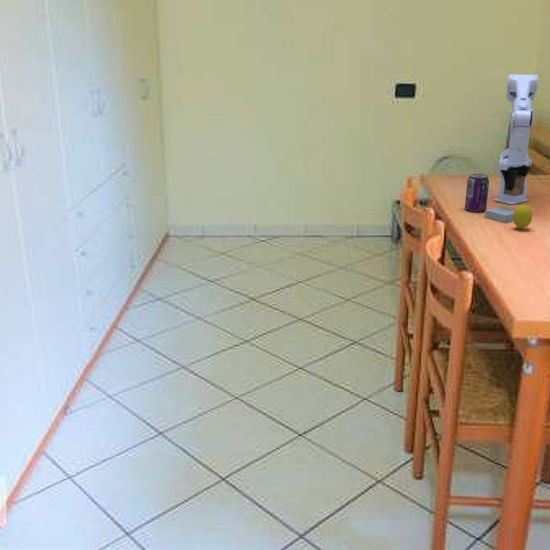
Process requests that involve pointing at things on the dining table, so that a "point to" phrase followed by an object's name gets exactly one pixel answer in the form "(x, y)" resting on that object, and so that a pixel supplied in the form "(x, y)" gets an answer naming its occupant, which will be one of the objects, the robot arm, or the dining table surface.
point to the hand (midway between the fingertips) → (513, 189)
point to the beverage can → (477, 192)
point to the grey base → (500, 214)
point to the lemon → (522, 216)
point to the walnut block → (516, 186)
